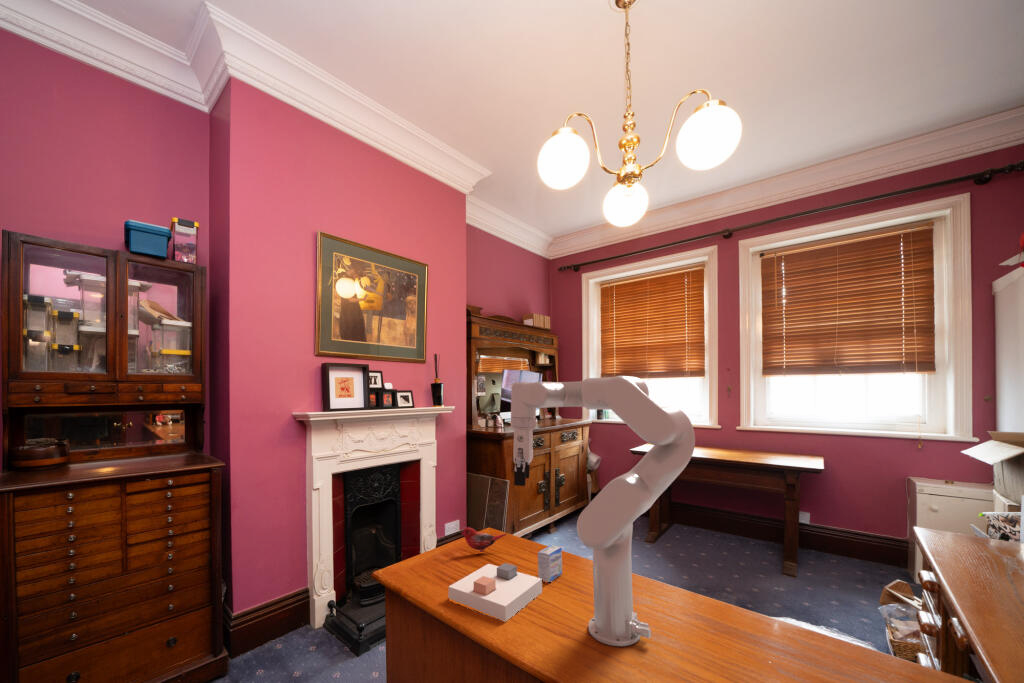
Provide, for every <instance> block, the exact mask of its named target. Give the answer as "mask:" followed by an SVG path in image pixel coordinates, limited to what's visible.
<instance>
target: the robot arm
mask: <svg viewBox="0 0 1024 683" xmlns="http://www.w3.org/2000/svg"><path fill="white" fill-rule="evenodd" d="M649 392H650V391H649V388H648V385H647V383H646V382H645V381H644V380H643V379H641V378H639V377H636V376H630V375H617V376H613V377H612V376H610V377H589V378H585V379H583V380H580V381H560V382H559V381H557V382H556V381H536V382H529V381H525V382H524V381H517V382H516V381H515V382H514V383H512V385H511V391H510V393H511V396H510V399H511V400H510V428H511V429H513V449H512V450H513V453H512V454H513V462H514V463H515V464H514V475H513V478H514V479H513V485H514V486H516V487H517V486H518V487H525V486H526V479H530V467H531V466H530V463H532V461H533V458H534V435H533V433H534V431H533V430H535V429H536V427H537V426H536V420H537V418H536V416H537V409H538V408H539V409H547V408H564V407H565V408H566V407H567V408H569V407H570V408H573V407H575V408H576V407H577V408H585V409H586V410H591V411H593V410H611V411H612V412H613V414H615V415H616V416H617V417H618V418H619V419H620V420H622V422H624V423H625V424H626V425H627V426H628V427H629V428H630V429H631V430H632V431H633V432H634V433H635V434H636V435H637V436H639V437H640V439H642V440H643V441H645V442H646V443H648V444H650V445H653V446H652V447H651V448H650V450H648V451H647V452H646V453H645V455H643V457H642V458H641V459H640V460H639V461H638V463H636V465H634V466H633V467H632V468H631V469H630V470H629V471H627V472H626V473H623V474H620V475H619V476H617V477H615V478H613V479H611V480H610V481H609V482H608V483H607V484H606V485H605V486H604V487H603V488H602V489H601V490H600V491H599V492H598V493H597V495H596V496H594V498H593V499H592V500H591V501H590V502H589V504H587V506H585V508H584V509H583V510H582V511H581V513H580V514H579V516H578V519H577V520H576V521H577V522H576V532H577V535H578V538H579V540H580V541H581V542H582V544H583V545H584V546H586V547H587V548H589V549H591V550H592V575H593V579H592V580H593V581H592V582H593V607H594V608H593V611H594V616H593V617H592V618H591V619H590V620H589V622H588V632H589V634H590V635H591V636H592V638H594V639H595V640H596V641H599V642H600V643H602V644H604V645H607V646H612V647H627V646H632V645H633V644H635V643H637V642H638V641H639V640H640V639H641V637H644V638H647V639H651V635H652V629H651V628H650V627H649V626H650V625H649V623H647V622H643V621H640V620H639V619H638V613H637V612H634V605H633V604H634V601H633V600H634V599H633V598H634V597H633V596H634V594H633V574H632V572H633V571H632V568H633V567H632V543H633V542H632V540H633V539H632V538H633V530H634V529H633V528H634V524H633V523H634V522H635V521H636V520H637V519H638V518H639V517H640V516H641V515H643V514H645V513H646V512H647V511H648V510H649V509H651V507H652V506H653V505H654V503H655V502H656V500H658V498H659V497H660V496H661V495H662V494H663V493H664V492H665V491H666V490H667V489H668V487H670V486H671V485H672V483H673V482H674V481H675V480H676V479H677V477H678V476H680V474H682V472H683V471H684V470H685V468H686V467H687V465H688V464H689V462H690V461H691V459H692V457H693V454H694V450H695V447H696V446H695V445H696V435H695V429H694V427H693V424H692V422H691V420H690V418H689V417H688V416H687V414H686V413H685V412H684V411H683V410H681V409H679V408H677V407H673V406H660V405H659V404H658V403H656V402H655V401H654V400H653V398H652V399H651V397H650V394H649Z"/></svg>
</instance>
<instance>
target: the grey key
mask: <svg viewBox="0 0 1024 683" xmlns="http://www.w3.org/2000/svg"><path fill="white" fill-rule="evenodd" d="M517 572H518V567H517V565H514V564H510V563H506V562H504V563H502V564H501V565H499V567H497V577H498V578H501V579H505V580H508V581H509V580H511V579H512V578H514V577H515V576H517Z"/></svg>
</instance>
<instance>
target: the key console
mask: <svg viewBox="0 0 1024 683" xmlns="http://www.w3.org/2000/svg"><path fill="white" fill-rule="evenodd" d="M499 566H500V565H499ZM499 566H498V565H494V564H492V563H487V564H485V565H484V566H482V567H480V568H478V569H477V570H474V571H473V572H472V573H469V574H468V575H466V576H464V577H463V578H461V579H459V580H457V581H456V582H453V583H452V584H450V585H449V586H448V598H449V599H452V600H454V601H456V602H459V603H462V604H464V605H467V606H469V607H472V608H474V609H476V610H478V611H481V612H483V613H485V614H488V615H490V616H493V617H496V618H498V619H500V620H502V621H505V622H506V621H507V620H508V619H510V618H511V617H512V616H513V617H514V616H516V615H517V614H518V613H519V612H521V611H522V610H523V609H525V606H526V605H527V604H528V603H529V602H531V601H532V600H533V599H534V598H535V599H537V598H538V597H539V596H540V595H542V594H541V593H543V581H542V579H541V578H538V577H537V576H533V575H530V574H527V573H523V572H519V571H517V576H515V577H514V578H512V579H511V580H509V581H508V580H505V579H501V578H498V577H497V567H499ZM482 576H485V577H489V578H492V579H495V580H496V590H495V591H493V592H492V593H490V594H489V595H487V596H484V595H482V594H479V593H476V592H474V581H476V580H477V579H479V578H481V577H482ZM539 594H540V595H539ZM538 595H539V596H538ZM537 596H538V597H537ZM536 597H537V598H536ZM535 599H534V600H535ZM534 600H533V601H534ZM533 601H532V602H533ZM532 602H531V603H532ZM529 604H530V603H529ZM529 604H528V605H529ZM528 605H527V606H528ZM527 606H526V607H527ZM522 608H523V609H522ZM521 609H522V610H521ZM520 610H521V611H520ZM518 611H519V612H518ZM517 612H518V613H517ZM516 613H517V614H516ZM515 614H516V615H515ZM513 617H512V618H513ZM512 618H511V619H512ZM511 619H510V620H511ZM500 620H499V621H500ZM502 621H501V622H502ZM508 621H509V620H508ZM508 621H507V622H508ZM505 622H504V623H505ZM507 622H506V623H507Z"/></svg>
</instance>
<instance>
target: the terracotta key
mask: <svg viewBox="0 0 1024 683" xmlns="http://www.w3.org/2000/svg"><path fill="white" fill-rule="evenodd" d="M495 590H496V580H495V579H492V578H489V577H485V576H482V577H481V578H479V579H477V580H476V581H474V592H476V593H479V594H482V595H484V596H487V595H489V594H490V593H492V592H493V591H495Z"/></svg>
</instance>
